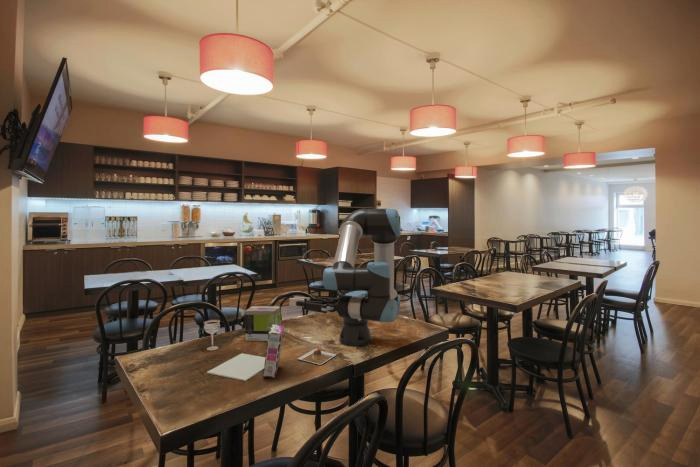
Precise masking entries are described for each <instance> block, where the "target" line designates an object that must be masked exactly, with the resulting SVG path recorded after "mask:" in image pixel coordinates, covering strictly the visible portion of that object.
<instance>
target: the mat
mask: <svg viewBox="0 0 700 467" xmlns="http://www.w3.org/2000/svg"><path fill="white" fill-rule="evenodd" d="M265 357H266V356H259V355H253V354H248V353H243V352H241V353H240V354H237V355H236V356H233V357H232V358H230V359H228V360H227V361H225V362H223V363H221V364H219V365H217V366H215V367H214V368H212V369H210V370H208V371H206V374H208V375H214V376H218V377H224V378H228V379H234V380H237V381H242V380H243V382H247V381H249V380H250V379H252V378H253V377H255V376H256V375H258V374H259V373H261V372H263V371H264V365H265ZM248 379H249V380H248Z"/></svg>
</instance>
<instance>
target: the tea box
mask: <svg viewBox="0 0 700 467" xmlns="http://www.w3.org/2000/svg"><path fill="white" fill-rule="evenodd" d="M281 310H282V309H281V306H279V305H276V306H275V305H274V306H271V305H270V306H267V305H266V306H265V305H263V306H261V305H260V306H259V305H258V306H257V305H254V306H253V305H252V306H250V307H249V308H247V309H246V310H244V338H245V342H246V341H247V342H248V341H249V342H252V341H253V342H268V334H269V331H270V329H271V326H272V325H282V318H281V317H282V316H281V314H282V312H281Z"/></svg>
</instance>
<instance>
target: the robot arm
mask: <svg viewBox="0 0 700 467" xmlns="http://www.w3.org/2000/svg"><path fill="white" fill-rule="evenodd" d="M401 230H402V229H401V223H400V216H399V211H398V210H397V209H395V208H388V207H386V208H359V209H355V210H354V211H352V212H351V213H350V214H348V215H346V216H345V218H344V219H343V220H342V222H341V223H340V227H339V230H338V231H339V240H338V243H337V247H336V251H335V255H334V259H333V263H332V265H331V267H330V266H329V267H325V268H324V269H323V273H322V284H323V288H324V289H325V290H329V291H335V292H336V291H344V292H345V291H347V292H348V291H349V292H348V293H347V292H346V293H345V294H343V295H341V296H340V297H325V296H314V297H304V296H293V297H289V307H296V308H303V310H304V311H305V310H306V311H312V312H318V313H323V314H327V313H328V312H330V313H335V312H337V315H338V317H339V318H342V323H343V324H342V328H341V331H340V334H339V343H341V344H342V345H345V346H349V347H362V346H367V345H368V344H369V345H370V344H371V343H372V334H371V330H370V328H369V323H368V322H369V321H371V322H379V323H393V322H395V321H396V320H397V319H398V317H399V315H400V314H399V313H400V306H401V295H399V294H398V292H397V290H396V289H395V243H396V242H397V241H398V237H401V235H402V233H401V232H402V231H401ZM362 237H369V238H370V241H371V242H372V243H373V245H374V246H373V250H374V251H373V252H374V254H373V255H374V257H373V260H374V261H369V262H368V263H367V266H366V267H355V265H356V264H355V263H356V260H357V259H356V258H357V253H358V248H359V242H360V241H359V240H361V238H362Z"/></svg>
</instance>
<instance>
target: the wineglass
mask: <svg viewBox="0 0 700 467" xmlns="http://www.w3.org/2000/svg"><path fill="white" fill-rule="evenodd" d="M220 322H221V320H219V319H209V320H206V321H204V322H203V324H204V326H203V329H204V332H206V333H207V334H210V336H211V346H209V347H208V346H207V348H206V350H207V351H215V350H218V349H219V347H218V346H216V345H214V334H215V333H217V332H218V331H219V330H220V327H221V324H220Z"/></svg>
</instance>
